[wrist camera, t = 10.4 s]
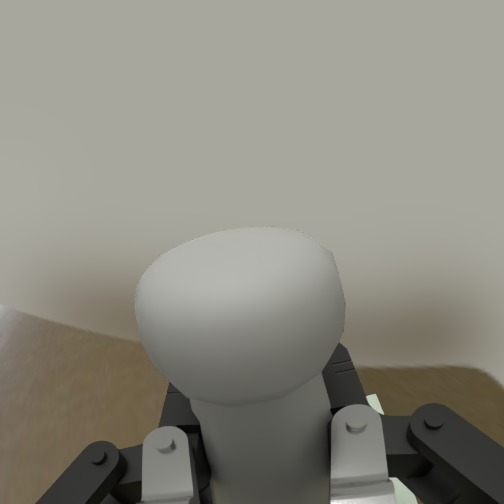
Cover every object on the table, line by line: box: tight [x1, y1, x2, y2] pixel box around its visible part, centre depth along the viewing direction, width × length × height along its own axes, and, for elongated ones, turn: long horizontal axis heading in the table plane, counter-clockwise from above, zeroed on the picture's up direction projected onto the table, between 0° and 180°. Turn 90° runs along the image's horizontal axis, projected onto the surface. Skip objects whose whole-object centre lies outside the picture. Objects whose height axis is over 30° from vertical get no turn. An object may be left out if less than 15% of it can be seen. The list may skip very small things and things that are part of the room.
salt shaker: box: [135, 227, 345, 504], centre depth 8 cm, size 6×6×13 cm
